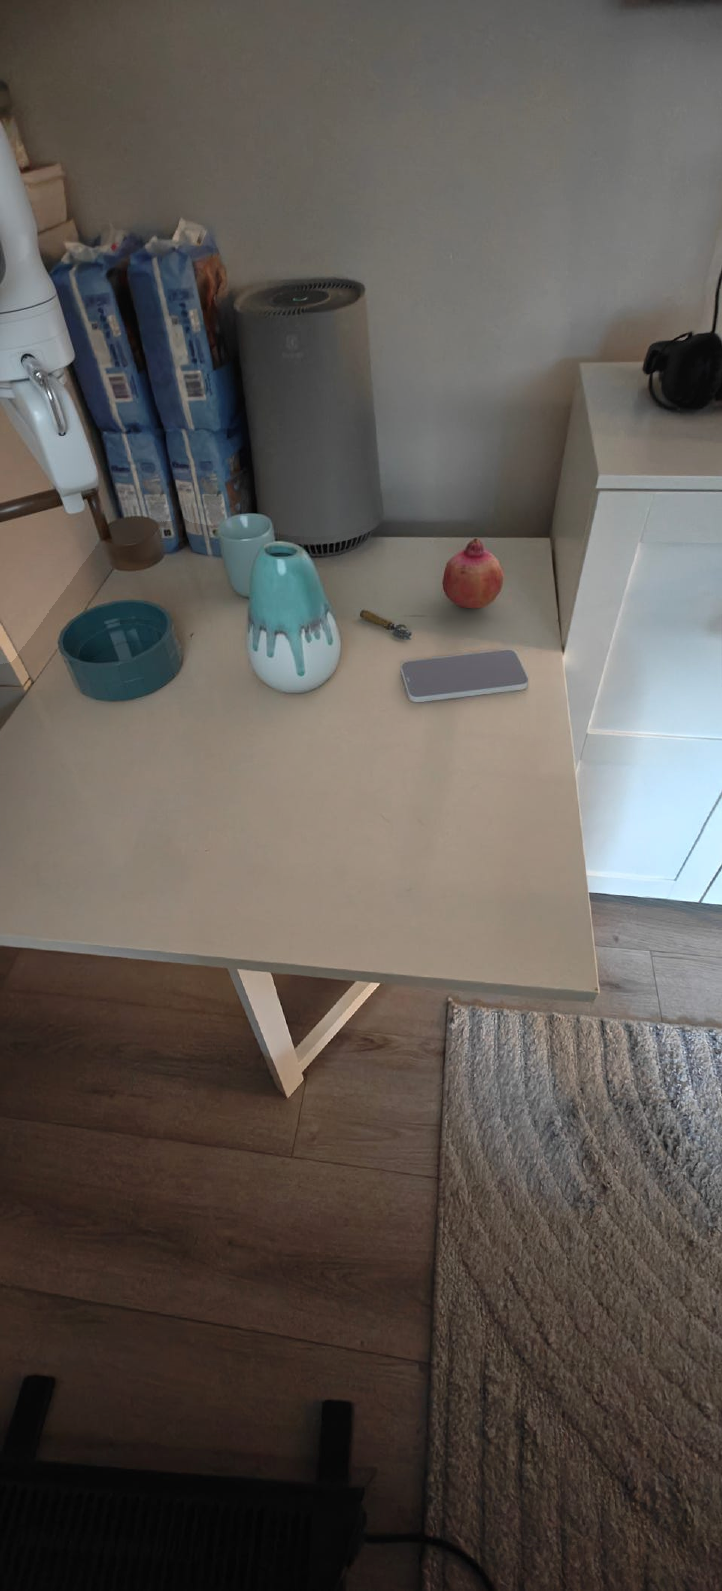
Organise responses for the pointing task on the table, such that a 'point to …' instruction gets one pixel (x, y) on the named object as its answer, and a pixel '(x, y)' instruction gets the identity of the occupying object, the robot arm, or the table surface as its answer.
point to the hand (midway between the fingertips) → (70, 503)
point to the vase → (290, 621)
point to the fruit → (473, 577)
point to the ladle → (102, 529)
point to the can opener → (387, 625)
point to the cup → (243, 546)
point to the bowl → (120, 649)
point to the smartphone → (463, 675)
